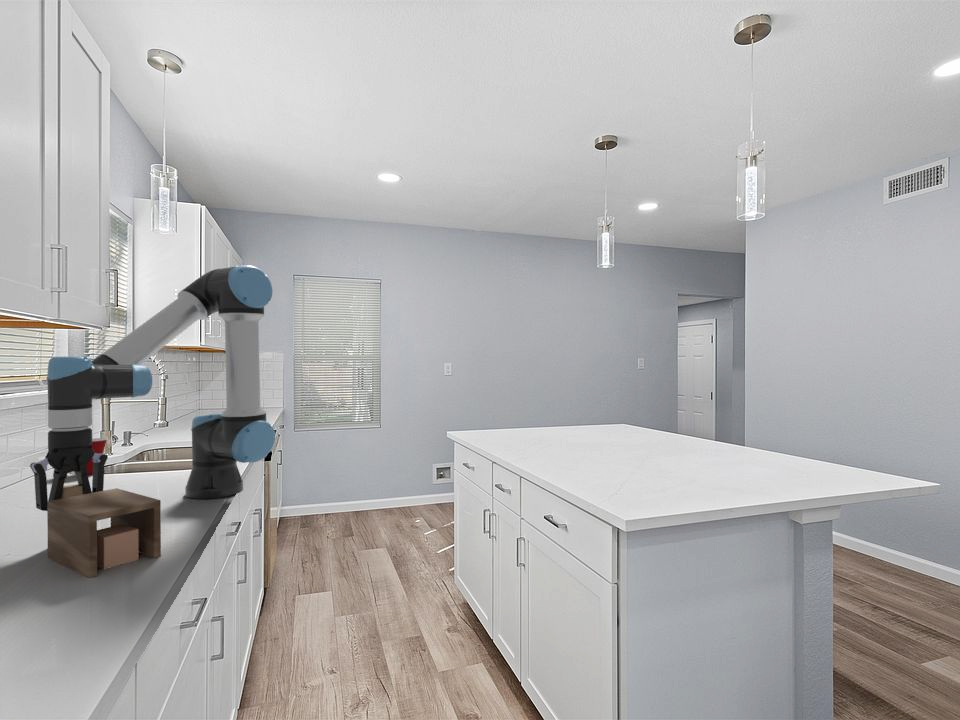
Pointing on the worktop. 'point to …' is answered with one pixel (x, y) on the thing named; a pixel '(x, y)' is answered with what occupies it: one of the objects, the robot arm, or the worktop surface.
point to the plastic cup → (96, 451)
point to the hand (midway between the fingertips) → (71, 537)
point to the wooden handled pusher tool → (111, 538)
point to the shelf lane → (78, 526)
